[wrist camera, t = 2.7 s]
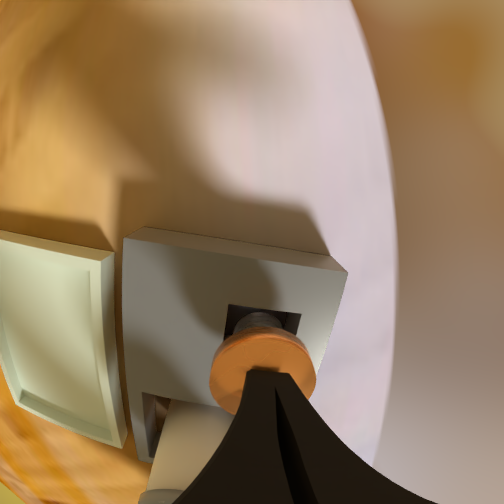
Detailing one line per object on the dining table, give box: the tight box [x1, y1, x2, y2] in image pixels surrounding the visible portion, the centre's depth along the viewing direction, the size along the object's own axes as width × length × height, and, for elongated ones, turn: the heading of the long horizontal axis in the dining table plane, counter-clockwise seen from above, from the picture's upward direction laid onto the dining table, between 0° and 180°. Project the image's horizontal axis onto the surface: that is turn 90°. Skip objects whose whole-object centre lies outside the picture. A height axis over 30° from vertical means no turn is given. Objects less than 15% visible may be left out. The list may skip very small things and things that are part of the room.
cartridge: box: [138, 399, 235, 504], centre depth 12 cm, size 5×5×8 cm
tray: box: [0, 230, 128, 449], centre depth 14 cm, size 14×10×2 cm
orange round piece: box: [209, 312, 316, 415], centre depth 11 cm, size 4×4×4 cm
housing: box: [122, 227, 348, 464], centre depth 14 cm, size 15×9×2 cm, turn 170°
